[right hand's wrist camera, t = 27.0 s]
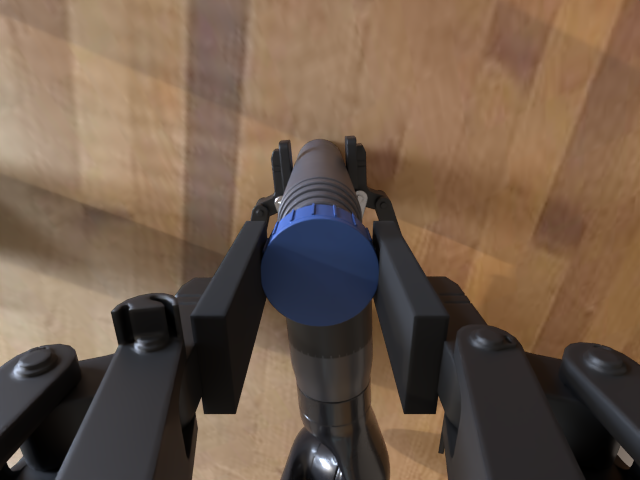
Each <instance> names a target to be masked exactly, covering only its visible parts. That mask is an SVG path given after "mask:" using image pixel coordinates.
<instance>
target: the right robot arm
mask: <svg viewBox="0 0 640 480" xmlns="http://www.w3.org/2000/svg"><path fill="white" fill-rule="evenodd" d="M266 240H267V225H266V221H246V222H245V224H244V226H243V227H242V229H241V231H240V232H239V234H238V236H237V237H236V239H235V241H234V243H233V244H232V246H231V248H230V249H229V251H228V253H227V254H226V256H225V258H224V259H223V261H222V263H221V264H220V266H219V268H218V270H217V271H216V273H215V275H214V276H213V278H194V279H192V280H190V281H189V282H187V283H186V284H184V285H183V286H182V287H181V288H180V289H179V291H178V292H177V293H176V295H175V297H174V296H173V295H169V294H165V293H151V294H145V295H139V296H136V297H134V298H131V299H128V300H126V301H124V302H122V303H121V304H119V305H117V306H116V307H115V308H114V309H113V310H112V311H111V314H112V319H113V323H114V327H115V332H116V336H117V340H118V345H119V346H118V348H117V350H116V352H115V353H114V354H111V355H107V356H102V357H97V358H92V359H87V360H82V361H78V358H77V355H76V351H75V350H74V349H73V348H72V347H71V346H69V345H63V344H54V345H44V346H40V347H36V348H33V349H30V350H28V351H26V352H24V353H22V354H20V355H17V356H16V357H14V358H13V359H11V360H10V361H8V362H6V363H5V364H4V365H2V366H1V367H0V480H192V474H193V465H194V457H195V448H196V440H197V431H198V427H197V420H196V413H195V412H196V409H197V407H198V404H199V402H200V399H201V397H202V403H203V410H204V414H236V411H237V407H238V403H239V400H240V396H241V392H242V388H243V384H244V381H245V377H246V373H247V369H248V366H249V362H250V358H251V354H252V350H253V347H254V343H255V339H256V335H257V332H258V328H259V324H260V320H261V317H262V313H263V309H264V305H265V301H266V298H267V297H266V295H265V293H264V290H263V288H262V282H261V260H262V257H263V254H264V253H262V251H263V248H264V246H265V243H266ZM372 243H373V246H374V249H375V252H376V254H377V258H378V261H379V278H378V287H377V290H376V292H375V294H374V296H373V299H374V302H375V306H376V310H377V314H378V317H379V321H380V325H381V329H382V333H383V336H384V340H385V344H386V348H387V351H388V355H389V359H390V363H391V366H392V370H393V374H394V378H395V382H396V385H397V389H398V393H399V397H400V400H401V404H402V408H403V412H404V414H436V408H437V401H438V396H439V398H440V401H441V403H442V406H443V408H444V411H445V413H444V420H443V426H442V433H441V439H440V446H439V453H441V454H443V453H444V448H445V456H446V464H447V473H448V480H640V365H639V364H638V363H636V362H635V361H634V360H632V359H630V358H629V357H627V356H626V355H624V354H623V353H620V352H618V351H616V350H613V349H612V348H610V347H607V346H604V345H602V346H601V345H600V344H595V343H583V342H579V343H573V344H570V345H569V346H567V347H566V348H565V350H564V354H563V357H562V359H557V358H552V357H546V356H541V355H536V354H532V353H528V352H524V349H523V347H522V345H521V344H520V343H519V341H518V340H517V339H516V338H515V337H514V336H512V335H511V334H509V333H508V332H506V331H504V330H501V329H499V328H496V327H493V326H488V325H487V324H486V322H485V321H484V319H483V318H482V317H481V315H480V314H479V313H478V311H477V310H476V309H475V307H474V306H473V304H472V303H470V300H469V299H468V298H467V296H465V294H464V292H463V291H462V290H461V288H460V287H459V285H458V284H456V283H455V282H453V281H451V280H450V279H448V278H447V277H426V275H425V273H424V272H423V270H422V268H421V267H420V265H419V263H418V262H417V260H416V258H415V257H414V255H413V253H412V251H411V250H410V248H409V246H408V245H407V243H406V241H405V240H404V238H403V236H402V235H401V233H400V231H399V229H398V228H397V226H396V224H395V223H394V221H373V238H372ZM620 445H621V446H622V447H623V448H624V449H625V451H626V452H627V453H628V454H629V455H630V456H631V457H632V458H633V459H634V462H633V464H632V466H631V467H629V466H628V465H626V464H625V463H624V462H623V461H622V460H621V458H620V457H619V456H618V455H617V453H618V450H619V448H620ZM19 447H20V449H21V451H22V454H23V457H22V458H21V459H20V460H19V462H18V463H17V464H16V465H14V466H13V467H12V468H11V469H10V468H9V467H8V465H7V461H8V460H9V459H10V458H11V456H12V455H13V454H14V453H15V452H16V451H17V450H18V449H19Z"/></svg>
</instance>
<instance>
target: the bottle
mask: <svg viewBox="0 0 640 480" xmlns="http://www.w3.org/2000/svg"><path fill="white" fill-rule="evenodd" d="M313 203H315V205H330V206H333V205H336V207H338V208H341V209H343V210H345V211H347V212H349V213H351V214H352V213H353V214H355V217H356V218H357V219H358V220H359V221H360V222H361V223H362V211H361V206H360V203H359V201H358V198H357V195H356V193H355V190H354V187H353V184H352V182H351V179H350V176H349V174H348V171H347V168H346V166H345V163H344V160H343V158H342V155H341V153H340V151H339V149H338V148H337V146H336V145H334V144H333V143H332V142H330V141H327V140H324V139H316V140H312V141H310V142H308V143H307V144H305V145H304V146H303V147H302V149H301V150H300V152H299V154H298V157H297V160H296V163H295V165H294V168H293V171H292V173H291V176H290V179H289V181H288V184H287V187H286V189H285V192H284V195H283V197H282V200H281V203H280V206H279V210H278V222H280V220H281V219H283V218H284V217H285V216H286V215H288V214H289V213H291V212H292V210H293V209H294V210H297V209H299V208H302V207H305V206H310V205H312V204H313Z"/></svg>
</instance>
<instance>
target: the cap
mask: <svg viewBox="0 0 640 480" xmlns="http://www.w3.org/2000/svg"><path fill="white" fill-rule="evenodd" d="M262 253H264V254H263V257H262V260H261V282H262V288H263V290H264V293H265V295H266V297H267V298H268V300H269V301H270V303H271V304H272V305H273V306H274V307H275V308H276V309H277V310H278V311H279V312H280V313H281V314H283V315H284V316H286V317H287V318H289V319H291V320H293V321H295V322H298V323H301V324H304V325H310V326H330V325H335V324H339V323H342V322H344V321H347V320H349V319H351V318H353V317H354V316H356V315H357V314H359V313H360V312H361V311H362V310H363V309H364V308H365V307H366V306H367V305H368V304H369V303H370V301H371V299H372V298H373V296H374V294H375V292H376V290H377V287H378V278H379V261H378V258H377V254H376V252H375V249H374V246H373V243H372V238H371V236H370V233H369V230H368V228H365V227H364V225H363V224H362V223H361V222H360V221H359V220H358V219H357V218H356V217H355V214H353V213H352V214H351V213H349V212H347V211H345V210H343V209H341V208H338V207H336V205H333V206H330V205H315V203H313V204H312V205H310V206H305V207H302V208H299V209H297V210H294V209H293V210H292V212H291V213H289V214H288V215H286V216H285V217H284V218H283V219H281V220H280V222H278V221H277V222H276V225H275V228H274V229H273V231H272V233H271V235H270V237H269V238H267V240H266V243H265V246H264V248H263V251H262Z"/></svg>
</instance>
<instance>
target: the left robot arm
mask: <svg viewBox="0 0 640 480" xmlns="http://www.w3.org/2000/svg"><path fill="white" fill-rule="evenodd" d="M345 154H346V168H347V171H348V174H349V176H350V179H351V182H352V184H353V187H354V190H355V193H356V195H357V198H358V201H359V203H360V206H361V211H362V218H363V214H364V210H365V207H368V208H371V209H375V211H376V213H377V216H378V219H379V221H394V223H395V224H396V226H397V228H398V229H399V231H400V228H399V225H398V222H397V219H396V216H395V213H394V210H393V207H392V204H391V201H390V200H389V198H388V197H387V195H386V194H385V192H383V191H381V190H374V189H371V188H369V187H367V182H366V152H365V149H364V147H363V145H362V144H361V143H358V144H356V137H355V136H345ZM271 162H272V171H273V179H274V188H275V193H274V194H272V195H270V196H268V197H266V198H265V197H263V198H260V199H259V200H258V202H257V204H256V206H255V207H254V208H253V211H252V216H251V221H266V225H267V227H268V222H269V217H270V216H271V215H274V214H276V213H278V210H279V206H280V203H281V200H282V197H283V195H284V192H285V189H286V187H287V184H288V181H289V179H290V176H291V173H292V171H293V163H292V153H291V143H290V140H282V141H280V142H279V149H275V150H274V151H273V154H272V157H271ZM400 233H401V231H400ZM401 235H402V234H401ZM286 320H287V329H288V337H289V346H290V354H291V361H292V366H293V370H294V373H295V377H296V383H297V392H298V400H299V409H300V415H301V419H302V421H303V424H304V426H305V427H303V428H302V429H301V431H300V432H299V433H298V435H297V436H296V438H295V440H294V443H293V445H292V447H291V450H290V453H289V456H288V459H287V462H286V465H285V468H284V471H283V474H282V477H281V479H280V480H390V463H389V456H388V451H387V448H386V445H385V441H384V439H383V436H382V433H381V431H380V428H379V425H378V422H377V419H376V416H375V414H374V411H373V409H372V407H371V380H370V373H371V366H372V355H373V346H372V299H371V301H370V303H369V304H368V305H367V306H366V307H365V308H364V309H363V310H362V311H361V312H360V313H359V314H357V315H356V316H354V317H353V318H351V319H349V320H347V321H344V322H342V323H339V324H335V325H330V326H310V325H304V324H301V323H298V322H295V321H293V320H291V319H289V318H287V317H286Z"/></svg>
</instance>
